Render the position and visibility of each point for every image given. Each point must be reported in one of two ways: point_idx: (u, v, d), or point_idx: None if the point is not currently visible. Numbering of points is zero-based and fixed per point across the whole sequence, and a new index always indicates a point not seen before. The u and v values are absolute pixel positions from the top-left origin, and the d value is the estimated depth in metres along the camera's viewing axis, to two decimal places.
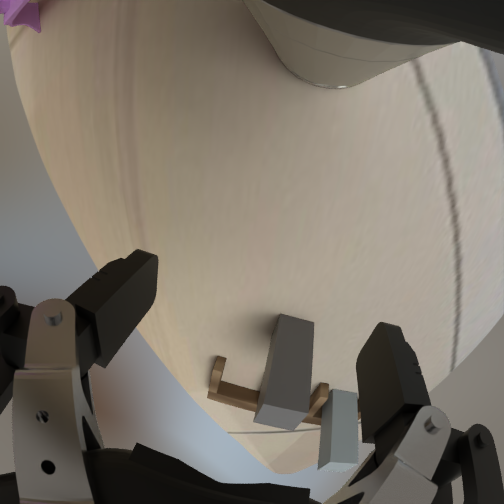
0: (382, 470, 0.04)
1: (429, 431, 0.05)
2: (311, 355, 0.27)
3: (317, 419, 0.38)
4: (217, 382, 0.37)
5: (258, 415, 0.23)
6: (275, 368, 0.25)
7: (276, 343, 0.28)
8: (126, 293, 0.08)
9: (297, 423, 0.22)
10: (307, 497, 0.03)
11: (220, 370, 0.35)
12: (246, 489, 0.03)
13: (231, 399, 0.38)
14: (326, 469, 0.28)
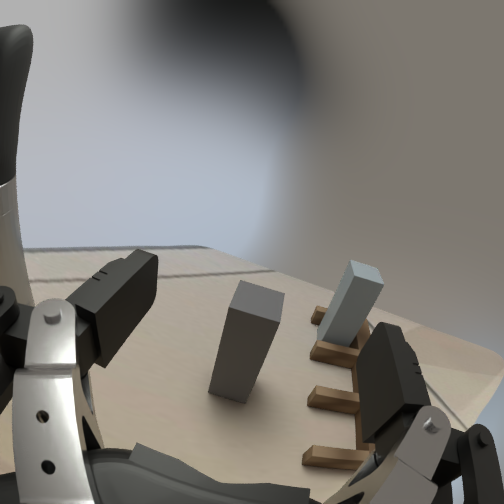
0: (382, 470, 0.04)
1: (429, 431, 0.05)
2: None
3: (362, 345, 0.35)
4: (341, 450, 0.20)
5: (259, 315, 0.21)
6: None
7: None
8: (126, 293, 0.08)
9: (265, 288, 0.24)
10: (307, 497, 0.03)
11: (312, 447, 0.21)
12: (246, 490, 0.03)
13: None
14: (377, 278, 0.31)
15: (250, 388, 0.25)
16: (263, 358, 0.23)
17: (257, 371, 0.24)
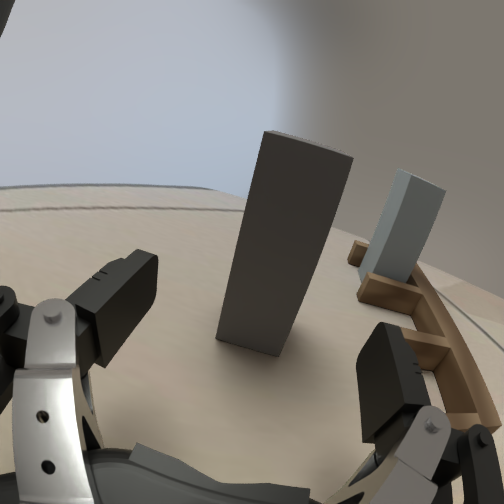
0: (383, 470, 0.04)
1: (429, 431, 0.05)
2: None
3: (420, 283, 0.25)
4: None
5: (318, 146, 0.11)
6: None
7: (230, 274, 0.15)
8: (126, 293, 0.08)
9: (312, 141, 0.15)
10: (307, 497, 0.03)
11: None
12: (246, 489, 0.03)
13: (471, 385, 0.13)
14: None
15: (291, 321, 0.15)
16: (321, 245, 0.13)
17: (307, 278, 0.14)
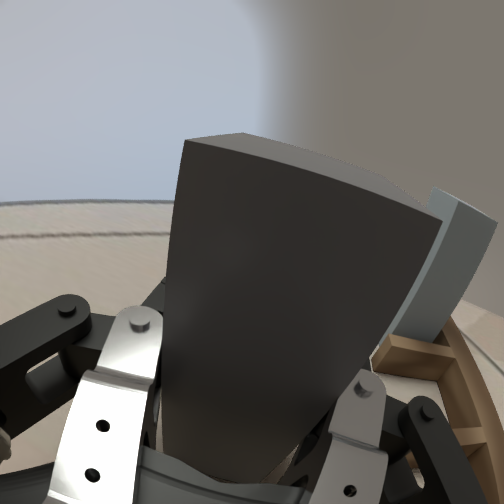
0: (320, 448, 0.04)
1: (356, 392, 0.06)
2: None
3: (451, 339, 0.17)
4: None
5: (348, 182, 0.04)
6: None
7: (163, 411, 0.07)
8: None
9: (324, 155, 0.07)
10: None
11: None
12: (246, 489, 0.03)
13: (502, 492, 0.05)
14: (484, 214, 0.14)
15: (270, 466, 0.08)
16: (331, 399, 0.06)
17: (299, 435, 0.06)
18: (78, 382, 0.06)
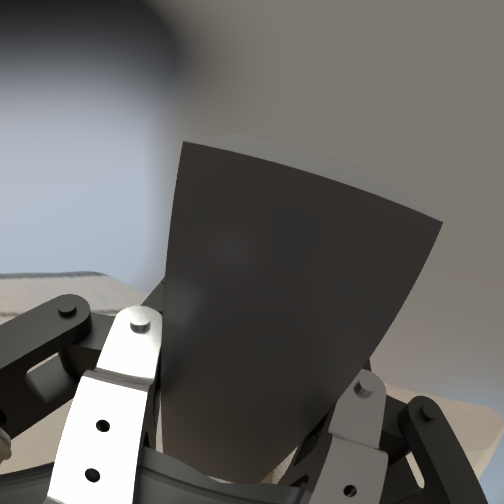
0: (320, 448, 0.04)
1: (356, 393, 0.06)
2: None
3: None
4: None
5: (347, 184, 0.04)
6: None
7: None
8: None
9: (323, 156, 0.07)
10: None
11: None
12: (246, 490, 0.03)
13: None
14: None
15: (270, 467, 0.08)
16: (330, 401, 0.05)
17: (299, 436, 0.06)
18: (78, 382, 0.06)
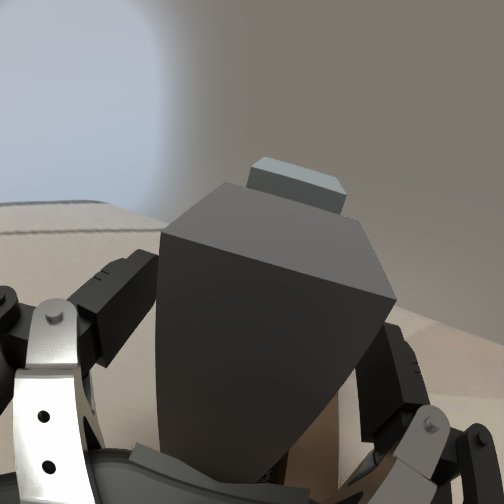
0: (382, 469, 0.04)
1: (428, 430, 0.05)
2: None
3: None
4: None
5: (306, 270, 0.04)
6: None
7: None
8: (128, 294, 0.08)
9: (302, 205, 0.08)
10: (307, 497, 0.03)
11: None
12: (246, 490, 0.03)
13: None
14: (329, 184, 0.12)
15: (257, 477, 0.08)
16: (302, 428, 0.06)
17: (278, 453, 0.07)
18: None
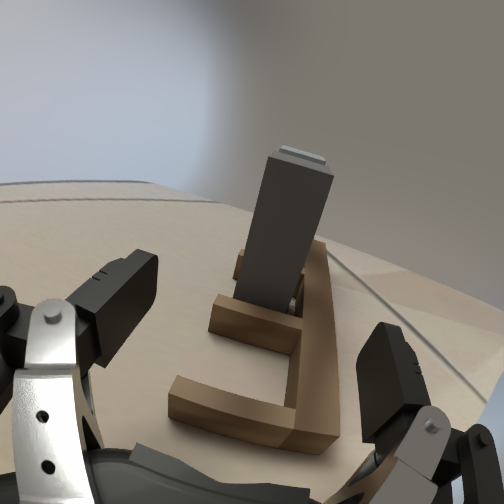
0: (382, 470, 0.04)
1: (429, 431, 0.05)
2: None
3: (311, 264, 0.27)
4: (233, 397, 0.12)
5: (307, 167, 0.16)
6: None
7: (241, 263, 0.19)
8: (127, 293, 0.08)
9: None
10: (307, 497, 0.03)
11: None
12: (246, 489, 0.03)
13: (306, 375, 0.14)
14: (317, 158, 0.23)
15: (288, 299, 0.20)
16: (310, 240, 0.18)
17: (300, 265, 0.19)
18: None
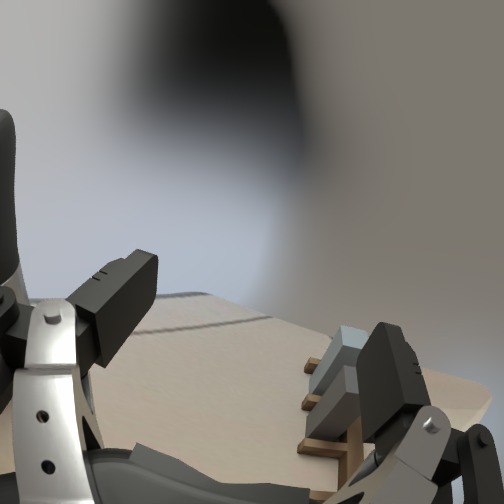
0: (382, 470, 0.04)
1: (429, 431, 0.05)
2: None
3: None
4: (322, 492, 0.22)
5: None
6: (329, 408, 0.28)
7: (319, 423, 0.29)
8: (126, 293, 0.08)
9: None
10: (307, 497, 0.03)
11: None
12: (246, 489, 0.03)
13: (350, 476, 0.24)
14: None
15: (340, 434, 0.30)
16: (358, 416, 0.28)
17: (350, 424, 0.29)
18: None
